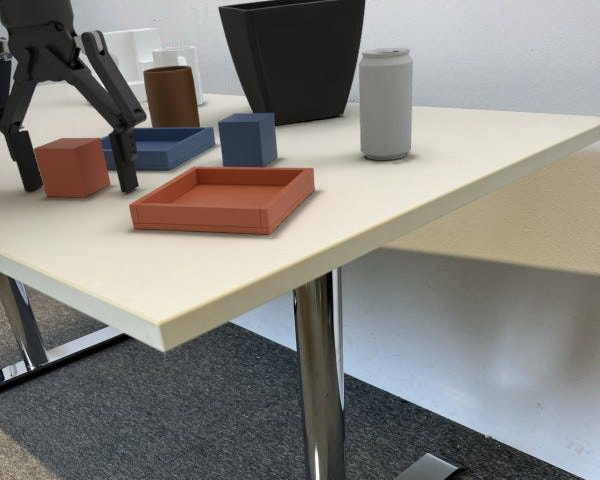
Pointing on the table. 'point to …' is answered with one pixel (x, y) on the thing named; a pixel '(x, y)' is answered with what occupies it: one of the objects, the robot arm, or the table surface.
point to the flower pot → (295, 54)
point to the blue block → (248, 139)
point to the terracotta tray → (224, 200)
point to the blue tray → (164, 146)
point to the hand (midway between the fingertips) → (81, 189)
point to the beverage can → (385, 103)
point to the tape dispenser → (131, 56)
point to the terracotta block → (72, 167)
